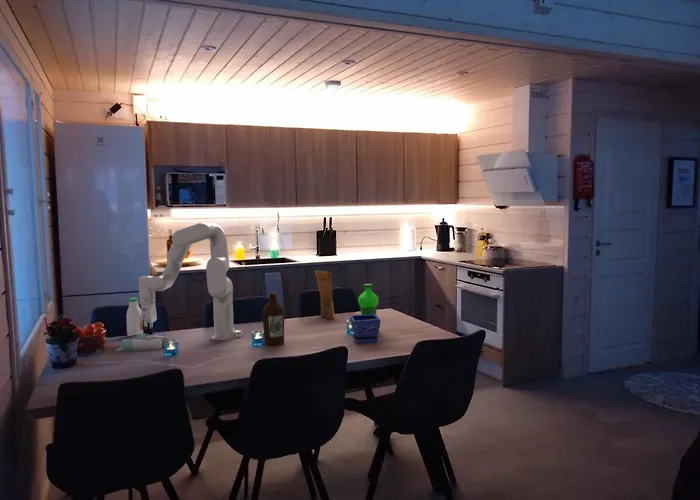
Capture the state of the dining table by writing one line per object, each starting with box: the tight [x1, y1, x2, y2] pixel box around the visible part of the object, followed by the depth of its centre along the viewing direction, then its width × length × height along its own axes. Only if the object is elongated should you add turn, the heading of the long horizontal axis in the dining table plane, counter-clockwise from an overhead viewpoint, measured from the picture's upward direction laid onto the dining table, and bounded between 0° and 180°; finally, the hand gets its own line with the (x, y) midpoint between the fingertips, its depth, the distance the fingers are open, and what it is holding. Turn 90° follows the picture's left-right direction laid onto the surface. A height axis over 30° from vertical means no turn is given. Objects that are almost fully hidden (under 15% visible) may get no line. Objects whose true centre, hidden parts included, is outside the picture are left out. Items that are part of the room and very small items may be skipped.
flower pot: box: [349, 314, 381, 345], centre depth 266 cm, size 13×13×12 cm
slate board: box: [114, 338, 182, 352], centre depth 267 cm, size 26×20×1 cm
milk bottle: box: [126, 297, 144, 337], centre depth 292 cm, size 8×8×20 cm
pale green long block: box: [120, 336, 169, 350], centre depth 260 cm, size 21×4×5 cm, turn 92°
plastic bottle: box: [357, 283, 379, 315], centre depth 285 cm, size 10×10×25 cm
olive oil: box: [261, 291, 285, 347], centre depth 265 cm, size 11×11×25 cm
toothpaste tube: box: [137, 332, 170, 346], centre depth 268 cm, size 19×3×4 cm, turn 64°
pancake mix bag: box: [314, 269, 335, 320], centre depth 329 cm, size 7×19×28 cm, turn 25°
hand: (149, 335), depth 280 cm, fingers closed
